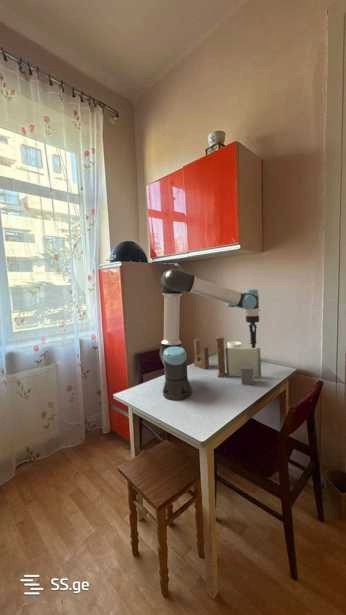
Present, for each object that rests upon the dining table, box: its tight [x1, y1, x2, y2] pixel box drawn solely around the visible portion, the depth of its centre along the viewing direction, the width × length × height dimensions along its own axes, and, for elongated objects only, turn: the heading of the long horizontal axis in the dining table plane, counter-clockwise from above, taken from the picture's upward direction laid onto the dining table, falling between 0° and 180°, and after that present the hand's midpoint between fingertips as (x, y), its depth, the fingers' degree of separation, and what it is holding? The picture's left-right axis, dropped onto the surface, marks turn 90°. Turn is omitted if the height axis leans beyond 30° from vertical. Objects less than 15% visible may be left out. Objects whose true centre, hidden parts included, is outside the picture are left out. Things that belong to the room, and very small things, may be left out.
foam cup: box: [227, 340, 243, 348], centre depth 172 cm, size 10×9×13 cm
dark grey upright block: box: [240, 365, 254, 386], centre depth 136 cm, size 6×6×9 cm
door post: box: [215, 336, 228, 379], centre depth 147 cm, size 5×5×23 cm
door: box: [225, 347, 262, 377], centre depth 144 cm, size 19×2×16 cm, turn 77°
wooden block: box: [193, 338, 210, 370], centre depth 165 cm, size 4×11×18 cm, turn 38°
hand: (253, 354), depth 149 cm, fingers closed
